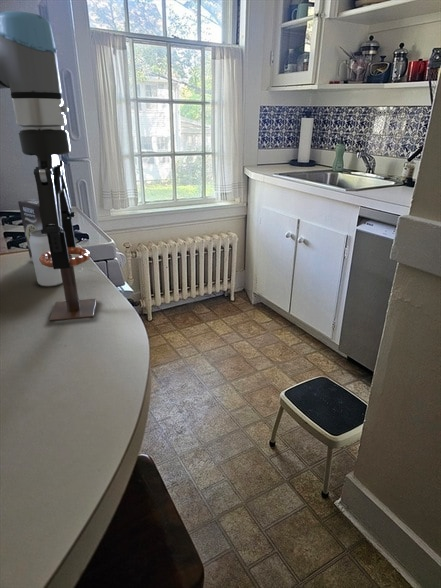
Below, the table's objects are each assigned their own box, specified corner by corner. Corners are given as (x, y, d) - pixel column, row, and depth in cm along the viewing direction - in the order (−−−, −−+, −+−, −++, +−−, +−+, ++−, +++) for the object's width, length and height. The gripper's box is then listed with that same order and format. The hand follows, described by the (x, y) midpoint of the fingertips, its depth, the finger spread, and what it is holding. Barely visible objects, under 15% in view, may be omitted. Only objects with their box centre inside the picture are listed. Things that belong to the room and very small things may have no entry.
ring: (45, 254, 76) (43, 247, 76) (92, 251, 78) (91, 244, 78) (35, 270, 69) (34, 262, 68) (88, 266, 70) (87, 259, 70)
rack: (56, 306, 81) (46, 250, 76) (96, 302, 82) (88, 248, 77) (49, 324, 74) (37, 264, 69) (93, 320, 75) (85, 261, 70)
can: (31, 284, 91) (20, 234, 86) (51, 275, 96) (42, 227, 91) (53, 288, 89) (43, 237, 84) (72, 278, 94) (64, 230, 89)
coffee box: (29, 261, 105) (16, 201, 99) (50, 255, 110) (39, 197, 103) (49, 268, 101) (37, 205, 94) (70, 261, 105) (60, 201, 99)
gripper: (56, 130, 55) (80, 278, 64) (74, 126, 74) (91, 241, 84) (-1, 130, 54) (32, 282, 63) (32, 127, 73) (54, 243, 82)
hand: (65, 259), depth 73 cm, fingers closed on ring, 9 cm apart
